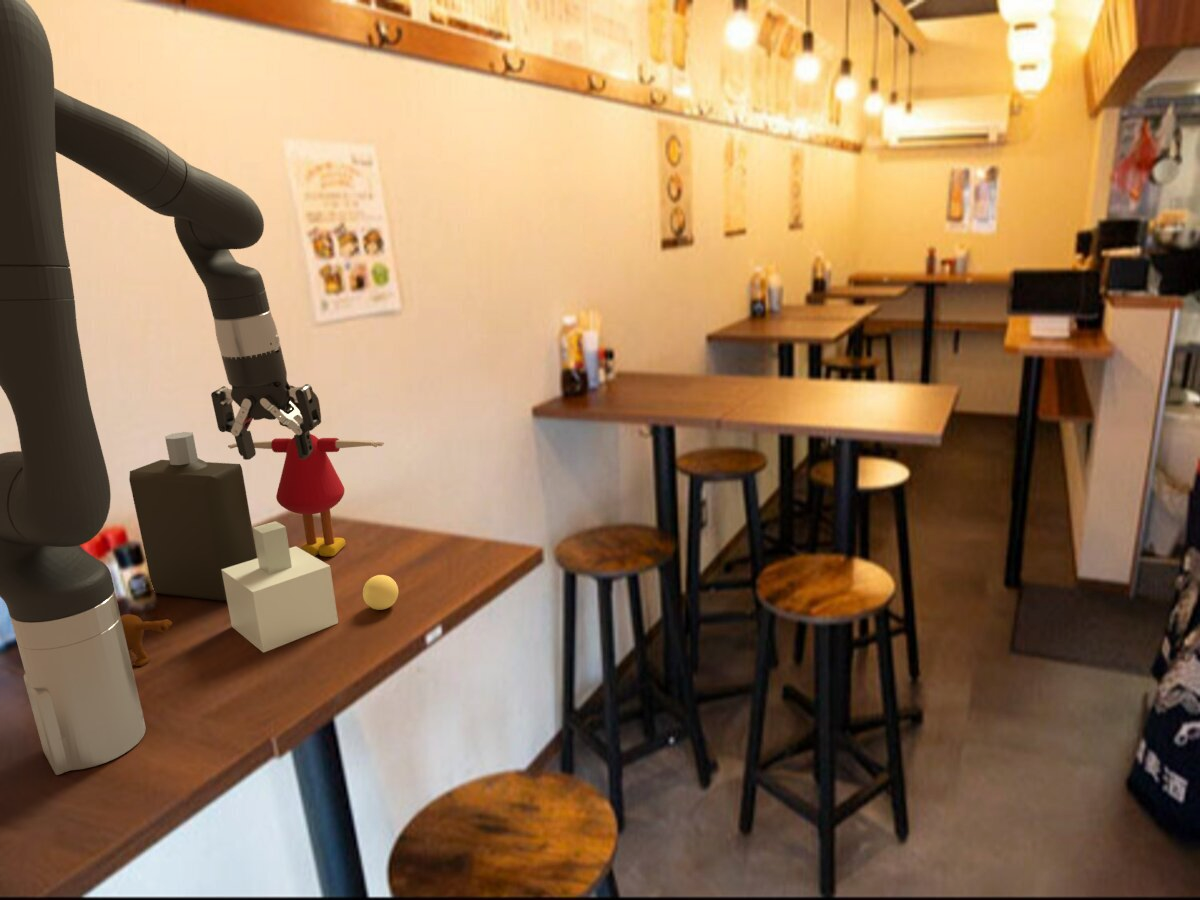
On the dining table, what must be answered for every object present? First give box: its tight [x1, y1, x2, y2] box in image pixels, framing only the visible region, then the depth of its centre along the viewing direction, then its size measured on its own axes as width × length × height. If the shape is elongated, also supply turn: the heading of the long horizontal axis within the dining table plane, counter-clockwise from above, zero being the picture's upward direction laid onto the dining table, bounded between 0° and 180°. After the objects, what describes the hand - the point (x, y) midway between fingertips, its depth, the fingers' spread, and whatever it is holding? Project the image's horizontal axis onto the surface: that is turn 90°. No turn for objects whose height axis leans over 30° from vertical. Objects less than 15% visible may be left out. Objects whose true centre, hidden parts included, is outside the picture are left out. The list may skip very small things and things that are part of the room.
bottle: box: [128, 431, 258, 602], centre depth 122 cm, size 8×16×25 cm, turn 74°
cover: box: [221, 520, 339, 653], centre depth 111 cm, size 11×11×15 cm
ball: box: [362, 574, 399, 611], centre depth 116 cm, size 5×5×5 cm
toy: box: [227, 384, 385, 558], centre depth 133 cm, size 27×11×30 cm, turn 84°
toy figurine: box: [120, 613, 173, 667], centre depth 103 cm, size 12×4×7 cm, turn 85°
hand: (277, 457), depth 114 cm, fingers open, 8 cm apart
